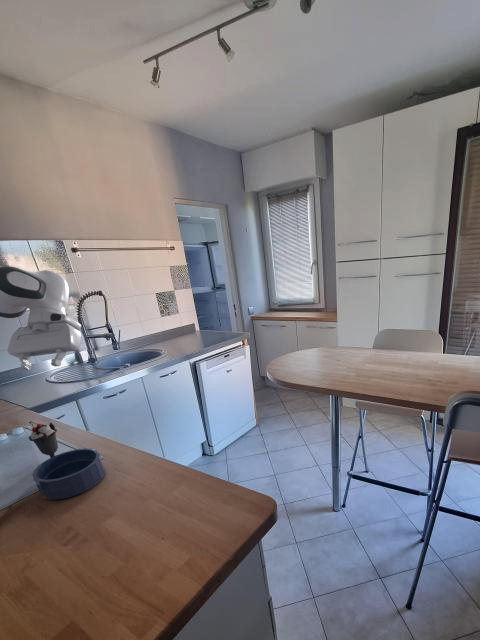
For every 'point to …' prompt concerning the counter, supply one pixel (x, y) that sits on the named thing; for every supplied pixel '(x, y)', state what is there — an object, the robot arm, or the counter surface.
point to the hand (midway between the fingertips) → (40, 367)
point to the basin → (69, 473)
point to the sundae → (45, 438)
